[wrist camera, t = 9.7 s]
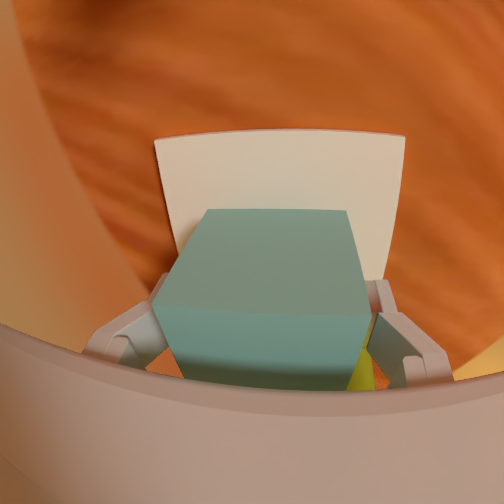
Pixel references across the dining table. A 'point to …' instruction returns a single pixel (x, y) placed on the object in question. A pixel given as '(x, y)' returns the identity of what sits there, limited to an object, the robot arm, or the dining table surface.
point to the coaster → (287, 179)
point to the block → (267, 300)
